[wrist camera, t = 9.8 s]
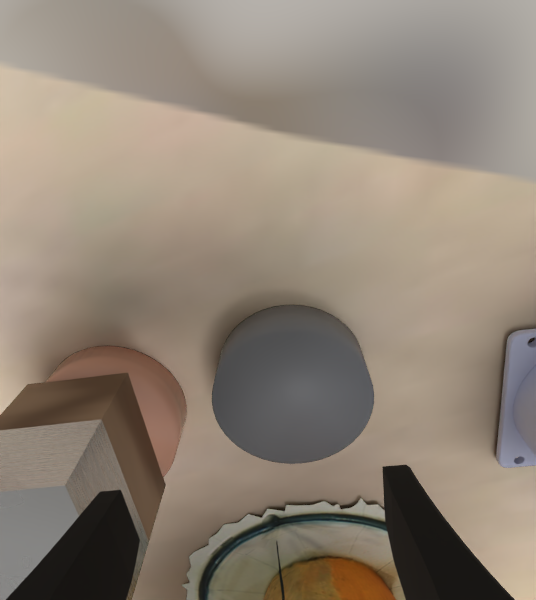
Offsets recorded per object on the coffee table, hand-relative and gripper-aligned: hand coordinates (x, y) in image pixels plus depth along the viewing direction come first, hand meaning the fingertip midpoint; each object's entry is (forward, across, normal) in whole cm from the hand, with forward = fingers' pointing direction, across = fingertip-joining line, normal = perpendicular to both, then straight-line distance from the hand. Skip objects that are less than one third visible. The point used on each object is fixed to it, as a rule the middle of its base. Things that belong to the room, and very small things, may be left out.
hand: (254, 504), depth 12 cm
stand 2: (+9, -1, +2) cm, 10 cm away
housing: (+7, +8, +3) cm, 11 cm away
